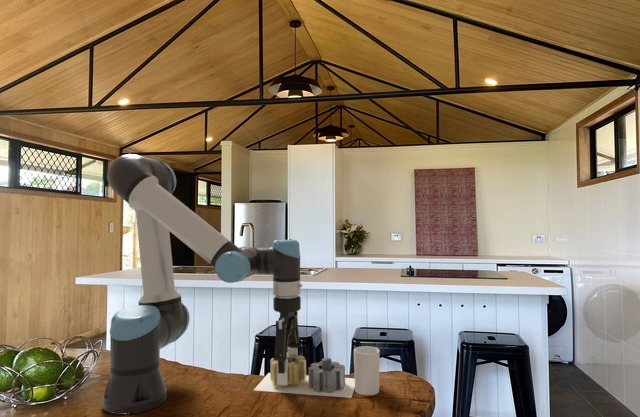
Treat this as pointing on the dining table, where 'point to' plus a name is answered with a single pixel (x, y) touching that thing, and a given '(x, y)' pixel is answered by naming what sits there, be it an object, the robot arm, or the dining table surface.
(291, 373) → the gear
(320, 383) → the gear
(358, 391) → the mug
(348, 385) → the board
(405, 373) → the dining table surface
